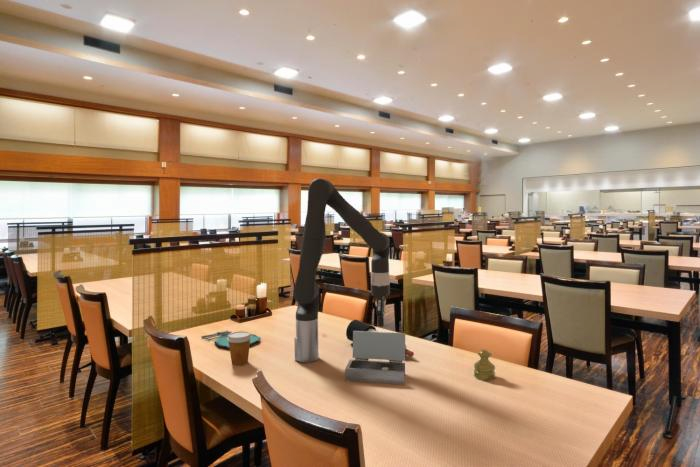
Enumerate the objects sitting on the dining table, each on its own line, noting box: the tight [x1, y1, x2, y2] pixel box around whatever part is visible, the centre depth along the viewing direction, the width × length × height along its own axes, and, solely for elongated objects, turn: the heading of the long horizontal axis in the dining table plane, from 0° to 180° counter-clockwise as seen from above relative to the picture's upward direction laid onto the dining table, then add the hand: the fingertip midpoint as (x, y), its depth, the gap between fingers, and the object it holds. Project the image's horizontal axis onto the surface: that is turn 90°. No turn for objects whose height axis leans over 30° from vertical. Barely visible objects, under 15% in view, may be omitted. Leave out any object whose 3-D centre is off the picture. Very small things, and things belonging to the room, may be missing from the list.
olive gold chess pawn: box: [473, 349, 496, 381], centre depth 147 cm, size 7×7×10 cm
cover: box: [352, 331, 406, 363], centre depth 152 cm, size 20×11×2 cm
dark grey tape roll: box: [378, 366, 392, 370], centre depth 147 cm, size 5×5×4 cm
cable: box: [345, 319, 415, 358], centre depth 176 cm, size 10×34×10 cm, turn 46°
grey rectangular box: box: [344, 359, 406, 385], centre depth 147 cm, size 21×9×4 cm, turn 80°
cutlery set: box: [200, 330, 261, 350], centre depth 191 cm, size 20×30×2 cm, turn 48°
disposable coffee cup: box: [227, 330, 251, 367], centre depth 162 cm, size 10×10×12 cm
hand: (380, 326), depth 159 cm, fingers closed
